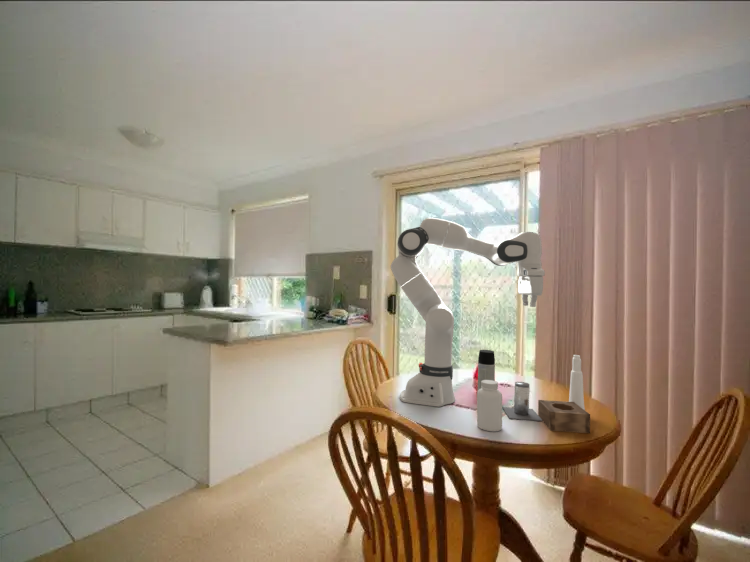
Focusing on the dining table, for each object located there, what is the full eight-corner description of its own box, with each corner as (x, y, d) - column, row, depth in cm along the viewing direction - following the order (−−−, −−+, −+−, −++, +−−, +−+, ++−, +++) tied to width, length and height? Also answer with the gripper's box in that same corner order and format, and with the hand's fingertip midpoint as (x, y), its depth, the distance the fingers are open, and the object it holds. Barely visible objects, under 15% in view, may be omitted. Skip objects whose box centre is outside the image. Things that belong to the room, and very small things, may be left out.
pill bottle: (477, 420, 118) (478, 377, 118) (502, 424, 115) (503, 380, 115) (475, 429, 110) (476, 383, 111) (501, 434, 107) (502, 386, 107)
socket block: (550, 430, 111) (550, 411, 111) (538, 416, 123) (538, 399, 123) (590, 433, 109) (590, 414, 109) (573, 418, 121) (573, 402, 121)
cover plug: (516, 414, 122) (517, 384, 122) (512, 410, 127) (513, 381, 127) (530, 416, 122) (531, 385, 122) (526, 411, 127) (527, 382, 127)
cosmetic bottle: (570, 410, 129) (570, 352, 129) (588, 415, 124) (588, 355, 125) (564, 414, 125) (564, 354, 125) (582, 419, 120) (583, 357, 120)
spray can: (494, 397, 143) (494, 350, 143) (494, 402, 136) (495, 353, 137) (477, 395, 145) (478, 348, 145) (477, 400, 138) (477, 351, 139)
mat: (509, 418, 120) (509, 417, 120) (502, 407, 131) (502, 406, 131) (542, 421, 118) (542, 420, 118) (532, 409, 129) (532, 408, 129)
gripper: (514, 273, 148) (514, 304, 148) (528, 270, 128) (528, 307, 127) (529, 273, 147) (529, 305, 147) (546, 271, 127) (546, 308, 126)
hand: (529, 306), depth 137 cm, fingers open, 8 cm apart
